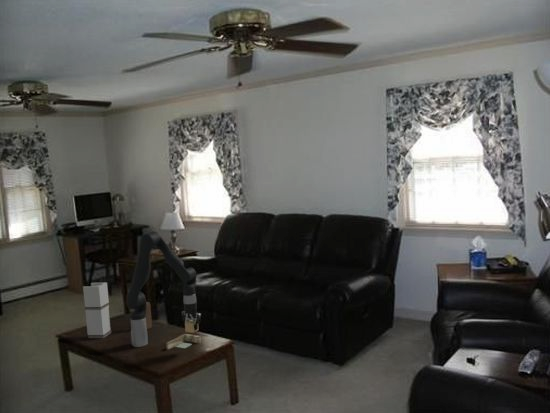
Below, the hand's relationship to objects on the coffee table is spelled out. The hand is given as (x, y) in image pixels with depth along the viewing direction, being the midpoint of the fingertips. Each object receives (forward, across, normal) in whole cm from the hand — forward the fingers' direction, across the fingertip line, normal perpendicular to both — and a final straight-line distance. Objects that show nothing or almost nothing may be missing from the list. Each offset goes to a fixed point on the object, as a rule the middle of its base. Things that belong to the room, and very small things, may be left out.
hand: (191, 329), depth 293 cm
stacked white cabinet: (+14, -80, -2) cm, 81 cm away
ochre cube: (+1, 0, 0) cm, 1 cm away
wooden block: (+14, -59, +19) cm, 63 cm away
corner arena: (+13, -10, +4) cm, 17 cm away
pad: (+13, -11, +4) cm, 17 cm away
